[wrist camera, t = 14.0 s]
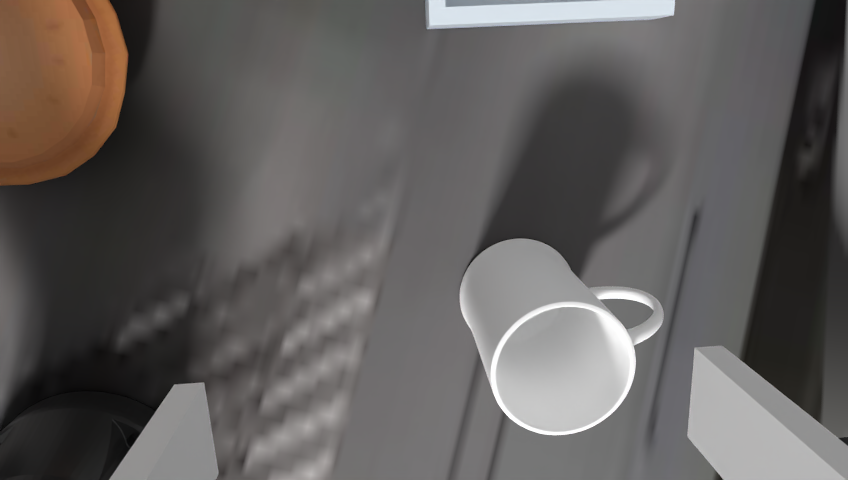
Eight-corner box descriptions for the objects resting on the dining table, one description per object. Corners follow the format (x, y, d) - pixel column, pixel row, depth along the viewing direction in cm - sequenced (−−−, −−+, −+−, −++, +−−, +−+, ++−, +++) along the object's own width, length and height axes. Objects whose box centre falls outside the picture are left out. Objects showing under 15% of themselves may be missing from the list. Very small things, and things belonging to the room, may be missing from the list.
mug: (613, 222, 43) (697, 275, 31) (620, 330, 45) (700, 417, 34) (452, 247, 43) (477, 311, 31) (466, 355, 45) (495, 451, 33)
